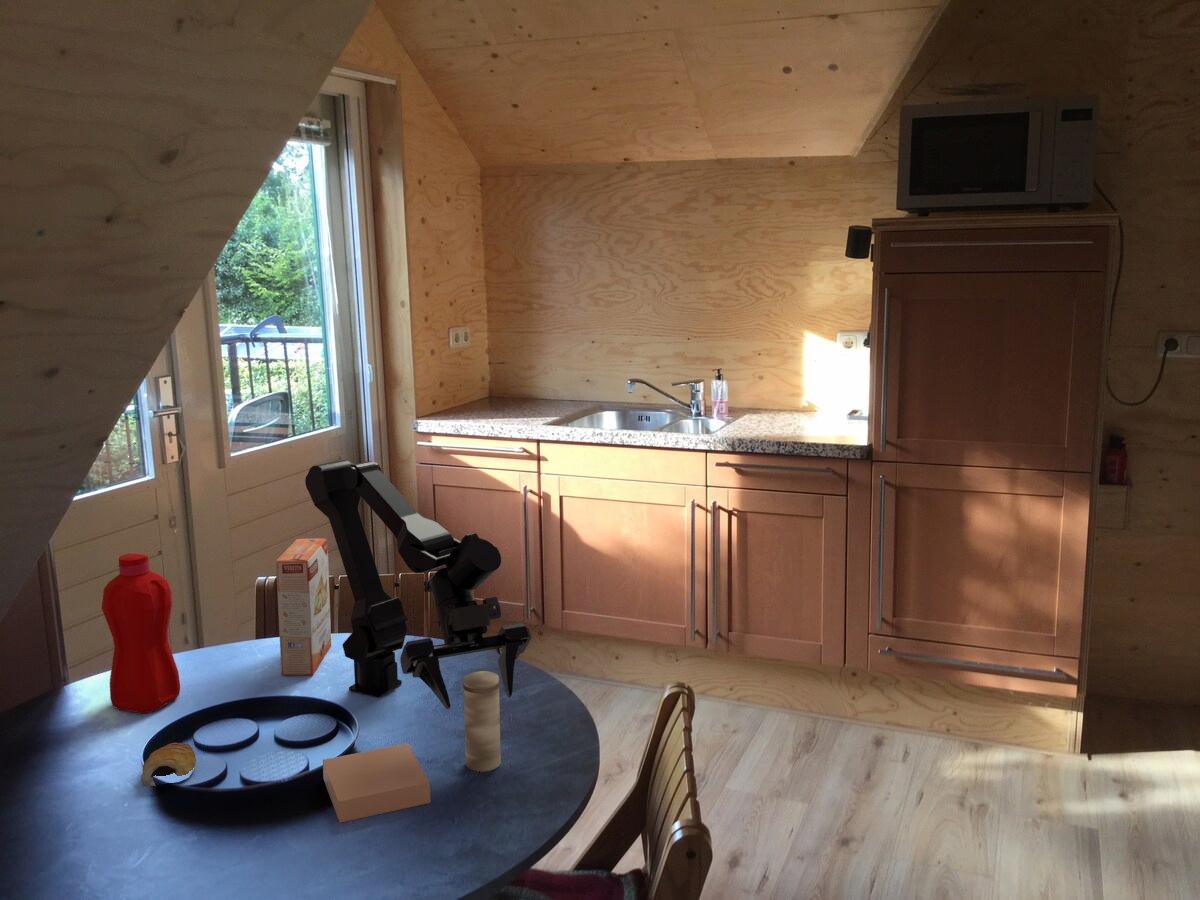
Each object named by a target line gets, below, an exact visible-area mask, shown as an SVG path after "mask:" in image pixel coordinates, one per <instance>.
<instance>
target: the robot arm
mask: <svg viewBox="0 0 1200 900" xmlns="http://www.w3.org/2000/svg"><path fill="white" fill-rule="evenodd" d="M305 487H306V489H307V491H308V493H309V496H310V498H311V501H312V502H313V505H314V507H316V509H318V511H320V512H321V513H322V514H323V515H324V516H325V517H326V518H328V521H329V524H330V526H331V530H332V532H333V536H334V539H335V543H336V545H337V549H338V552H339V555H340V559H341V561H342V564H343V568H344V572H345V574H346V577H347V580H348V584H349V586H350V590H351V593H352V596H353V600H354V603H353V607H352V612H351V617H350V624H351V628H352V629H351V630H352V632H351V634H349V636H348V637H347V638H346V640H344V642H343V643H342V644H341V645H342V649H343V653H344V656H345V658H348V659H350V660H353V675H354V684H352V685H350V686H348V691H350V692H354V693H358V694H363V695H366V696H370V697H371V696H372V697H375V698H381V697H383V696H385V695H386V694H388V693H389V692H391V691H392V690H394V689H396V688H397V687H399V686H400V685H402V684H403V680H402V679H399V678H398V677H399V676H398V673H399V672H398V662H397V661H396V652H395V651H397V650H402V651H401V654H400V658H399V661H400V666H401V667H400V668H401V671H402V674H405V675H408V674H411V675H412V678H415V679H417V678H419V679H420V680H421V681H422V682H423V683H424V684H425V685H426V686H427V687H428V688H429V689H430V690H431V691H432V692H433V694H434V695H435V696H436V698H437V699H438V700H439V701H440V702H441V704H442V705H443V707H444V708H445V710H450V708H451V703H450V696H449V693H448V690H447V687H446V684H445V681H444V678H443V675H442V672H441V668H440V660H439V659H444V658H450V657H456V656H462V655H467V654H468V655H469V654H474V653H479V652H485V651H486V652H487V651H491V650H496V653H497V654H498V655H499V657H498V659H497V662H498V663H497V664H498V667H499V672H500V674H501V680H502V684H503V688H504V692H505V693H506V696H507V698H511V697H512V695H513V688H514V687H513V685H514V674H515V673H514V671H515V670H514V669H515V663H516V660H518V658H519V657H520V655H521V654H524V653H525V651H526V649H527V647H528V645H529V644H530V642H531V640H532V634H531V631H530V628H529V627H528V626H527V625H526V624H525V623H523V622H522V623H514V624H508V625H502V626H501V627H500V629H499V631H498V633H497V635H492V636H486V637H484V634H486V633H487V631H488V627H489V626H490V627H491V626H492V625H491V624H492V622H491V621H492V620H493V621H495V620H498V619H500V618H501V617H502V609H501V604H500V601H499V599H498V596H490V597H486V598H483V600H482V604H481V603H480V604H478V603H477V600H476V599H475V600H474V596H473V592H472V591H473V590H477V589H478V588H480V587H481V586H482V585H483V584H484V583H485V582H487V580H488V579H489V578H490V577H491V576H492V575H493V574H494V573H495V572H496V571H497V570H498V569H499V568H500V567H501V563H502V556H501V552H500V550H499V549H498V547H497V546H495V545H494V544H493V543H491V542H490V541H488V540H487V539H483V538H481V537H479V535H478V534H477V532H471V533H468V534H465V535H464V537H462V539H461V540H459V539H457V538H455V537H453V536H452V534H451V533H450V532H449V531H448V530H447V529H445V528H444V527H443V526H442V525H441V524H439V523H438V522H437V521H434V520H432V519H429V518H426V517H424V516H422V515H421V514H420V513H419V512H417V510H416V509H415V508H414V507H413V506H412V505H411V504H410V502H408V500H407V499H406V498H405V497H404V496H403V495H402V494H401V493H400V491H399V490H398V489H397V488H396V487H395V486H394V485H393V484H392V483H391V481H390V480H389V479H388V478H387V476H385V474H383V471H382V467H380V464H379V463H378V462H377V461H371V460H367V461H363V462H357V463H352V461H349V460H348V459H341V460H337V461H333V462H326V463H321V464H316V465H315V464H314V465H313V466H311V467H310V468H309V470H308V472H307V474H306V476H305ZM361 499H363V501H365V503H366V504H367V505H368V506H369V508H371V510H372V511H373V512H374V513H375V514H376V516H378V518H379V519H380V520H381V521H382V522H383V524H384V525H385V526H386V527H387V529H388V530H389V531H390V532H391V533H392V534H393V535H394V537H395V539H396V545H397V552H398V554H399V555H400V557H401V558H402V560H403V561H404V563H405V564H406V566H407V568H408V569H409V570H410V571H411V572H412V573H415V574H422V573H427V572H430V571H433V570H436V569H439V568H440V569H439V570H437V571H436V572H435V573H434V574H430V575H429V578H428V581H427V582H426V583H425V585H424V587H423V591H424V593H432V596H433V601H434V605H435V609H436V613H437V618H438V621H437V623H438V627H439V628H440V630H441V634H442V638H443V641H444V643H443V644H437V645H434V642H433V639H431V637H428V638H422V639H421V638H420V639H415V640H414V639H413V640H407V642H406V643H405V639H406V634H407V632H408V624H407V623H408V622H407V621H408V617H407V616H406V614H405V612H404V608H403V604H402V601H401V599H400V597H394V598H393V597H392V596H391V595H389V594H388V592H386V591H385V589H384V585H383V583H382V580H381V576H380V574H379V570H378V568H377V564H376V561H375V557H374V554H373V552H372V548H371V545H370V542H369V540H368V539H369V538H368V536H367V533H366V530H365V527H364V524H363V520H362V518H361V514H360V511H359V506H360V502H361ZM404 643H405V645H404Z"/></svg>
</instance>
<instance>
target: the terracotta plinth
mask: <svg viewBox="0 0 1200 900" xmlns="http://www.w3.org/2000/svg"><path fill="white" fill-rule="evenodd" d="M322 772H323V774H322V775H323V776H322V777H323V781H324V785H325V787H326V790H327V793H328V795H329V797H330V801H331V803H332V806H333V809H334V812H335V814H336V817H337V819H338V823H339V824H340V823H345V822H349V821H354V820H359V819H362V818H369V817H372V816H376V815H382V814H386V813H389V812H394V811H395V812H396V811H399V810H405V809H409V808H412V807H413V808H414V807H417V806H422V805H427V804H431V783H430V780H429V778H428V776H427V775H426V773H425V771H424V769H423V768H422V766H421V764H420V762H419V761H418V759H417V756H416V755H415V753H414V752H413V749H412V748H411V746H410V744H409V743H408V742H406V743H402V744H396V745H391V746H387V747H381V748H376V749H372V750H367V751H361V752H357V753H351V754H345V755H341V756H336V757H331V758H326V759H325V758H323V759H322Z"/></svg>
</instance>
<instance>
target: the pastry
mask: <svg viewBox="0 0 1200 900" xmlns="http://www.w3.org/2000/svg"><path fill="white" fill-rule="evenodd" d="M196 763H197V758H196V754H195V750H194V748H193V747H192V746H191V745H190V744H189V743H182V742H181V743H180V742H171V743H168V744H166V745H164V746H162V747H159V749H156V750H154V751H153V752H151V753H150V754H149V756H148V758H147V759H146V760H145V761H144V763H143V765H142V774H141V776H140V778H139V779H140V781H141V782H142V784H144V785H145V786H147V787H148V786H149V787H157V786H156V785H155V783H154V781H153V778H152V777H153V776H155V775H156V776H166V775H170V774H173V773H175V774H176V775H177V776H182V775H186V774H188V773H189V771H191V770H193V768H194V767H195V766H196Z"/></svg>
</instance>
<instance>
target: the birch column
mask: <svg viewBox="0 0 1200 900" xmlns="http://www.w3.org/2000/svg"><path fill="white" fill-rule="evenodd" d="M462 684H463V685H462V689H463V709H464V710H463V713H464V714H463V715H464V717H463V719H464V747H465V749H464V751H465V757H464V758H465V767H466V766H467V767H468V768H469V769H468V768H467V767H466V768H467V769H468V770H470V769H471V770H470V771H472V770H474V771H473V772H478V773H483V772H484V773H485V772H491V771H494V770H496V769H497V768H498V767H500V766H501V759H502V758H501V720H500V719H501V717H500V714H501V711H500V676H499V675H498V674H497V673H495V672H492V671H485V670H481V671H474V672H470V673H468V674H466V675H465V676H464V677H463V680H462ZM479 771H480V772H479Z"/></svg>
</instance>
